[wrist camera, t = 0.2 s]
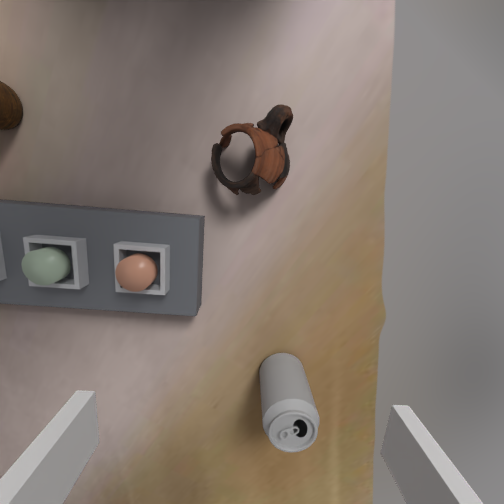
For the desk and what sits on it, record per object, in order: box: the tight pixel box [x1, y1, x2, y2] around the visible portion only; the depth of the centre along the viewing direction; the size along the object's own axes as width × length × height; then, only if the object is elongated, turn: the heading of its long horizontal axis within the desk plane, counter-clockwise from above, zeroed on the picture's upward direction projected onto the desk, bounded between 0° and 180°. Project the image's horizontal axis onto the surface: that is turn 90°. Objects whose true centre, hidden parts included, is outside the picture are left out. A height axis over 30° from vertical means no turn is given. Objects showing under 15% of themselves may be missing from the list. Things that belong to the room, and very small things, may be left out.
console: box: [0, 200, 205, 316], centre depth 34 cm, size 14×36×6 cm, turn 85°
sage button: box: [21, 247, 71, 285], centre depth 31 cm, size 4×4×2 cm
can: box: [259, 353, 319, 452], centre depth 37 cm, size 8×8×12 cm
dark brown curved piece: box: [211, 105, 293, 195], centre depth 32 cm, size 12×10×8 cm
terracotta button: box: [115, 253, 158, 292], centre depth 31 cm, size 4×4×2 cm
